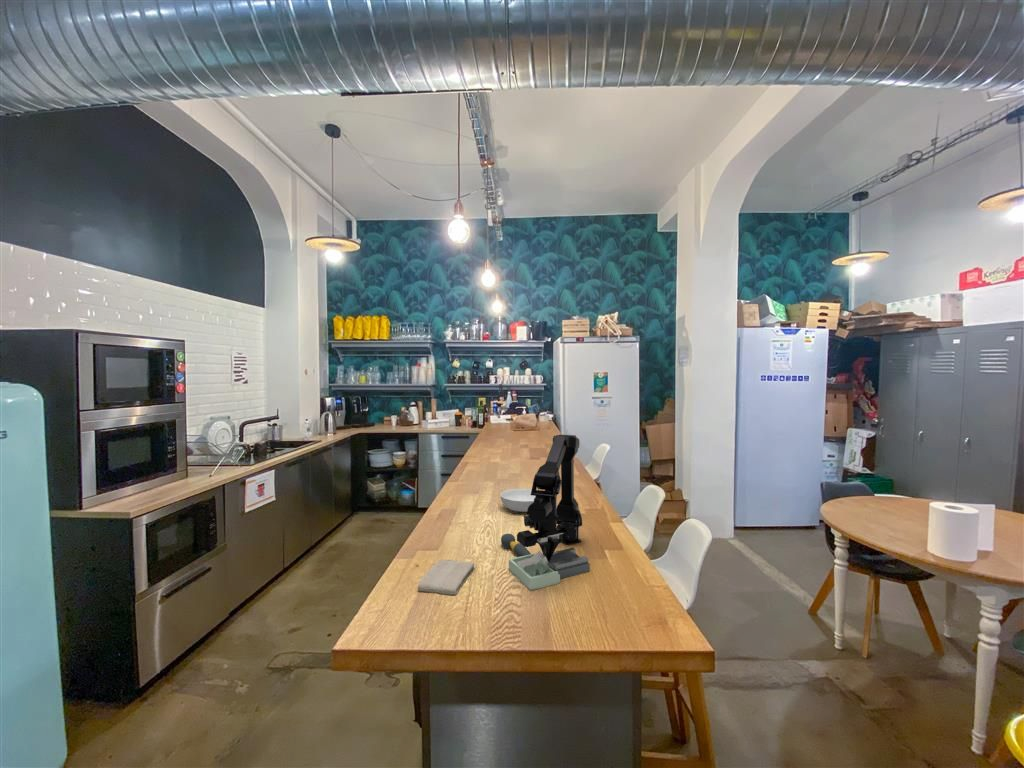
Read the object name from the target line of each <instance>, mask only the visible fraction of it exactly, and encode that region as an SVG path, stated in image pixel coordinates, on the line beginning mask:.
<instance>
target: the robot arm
mask: <svg viewBox="0 0 1024 768" xmlns="http://www.w3.org/2000/svg"><path fill="white" fill-rule="evenodd" d="M579 448H580V439H579V438H578V437H577V435H574V434H556V435H553V437H552V444H551V446H550V450H549V452H548V455H547V458H546V461H545V463H544V464H542V465H541V466H540V467H539V468H538V469H537V471H536V473H535V474H534V478H533V482H532V487H531V489H532V490H531V495H533V496H536V497H535V498H534V502H533V503H532V504H531V505H530V506H529V507H528V510H527V512H526V513H527V515H525V516H524V517H523V524H524V526H525V527H529V529H534V531H537V532H532V531H531V530H529V529H527V530H523V531H519V532H518V533H517V534H516V542H517V543H520V544H522V545H523V546H524V547H525V548H528V547H529V548H530V547H534V546H536V545H537V544H538V546H539V547H540V550H541V553H542V554H543V555H544V556H546V558H547V560H548V562H549V561H550V559H551V557H552V555H553V553H554V552H556V549H557V547H558V546H559V545H560V543H564V544H565V545H568V546H569V545H572V544H576V543H581V542H582V539H580V538H579V535H580V534H579V533H580V532H579V530H580V529H579V528H580V527H582V526H583V516H582V513H581V511H580V509H579V508H580V507H579V503H578V502H577V500H576V498H575V486H574V485H575V475H574V474H575V471H574V470H575V469H574V466H575V465H574V464H575V463H574V462H575V461H574V458H575V457H576V454H577V453H578V451H579ZM559 470H560V471H559ZM560 491H561V493H560ZM559 494H561V496H560V497H561V499H560V501H559V502H558V503H557V497H558V495H559Z"/></svg>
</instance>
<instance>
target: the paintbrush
mask: <svg viewBox="0 0 1024 768" xmlns="http://www.w3.org/2000/svg"><path fill="white" fill-rule="evenodd" d="M500 542H501V545H502V547H504V548H505V549H511V550H512V552H513V553H514V554H515V555H516V556H517V557H521V556H525V555H530V554H532V553H531V552H530V551H529V549H527V548H528V547H524V546H523V545H522V544H520V543H519V542H518V541H516V537H515V536H514V534H513V533H504V534H502V535H501V537H500Z"/></svg>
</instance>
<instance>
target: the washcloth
mask: <svg viewBox="0 0 1024 768" xmlns="http://www.w3.org/2000/svg"><path fill="white" fill-rule="evenodd" d="M474 569H475V563H474V562H472V561H459V560H458V561H457V560H455V559H444V558H442V559H440V560H439V561H438V562H436V564H433V565H432V567H431V568H430V569H429V570H428V571H427V572H426V573H425V575H424V576H423V577H422V578H421V579H420V581H419V583H418V586H417V590H418V591H419V592H424V593H435V594H440V595H448V596H449V595H450V596H456V595H458V593H459V591H460V590H461V588H462V587H463V585H464V584H465V583H466V581H467V579H468V578H469V576H471V574H472V573H473V571H474Z"/></svg>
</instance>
